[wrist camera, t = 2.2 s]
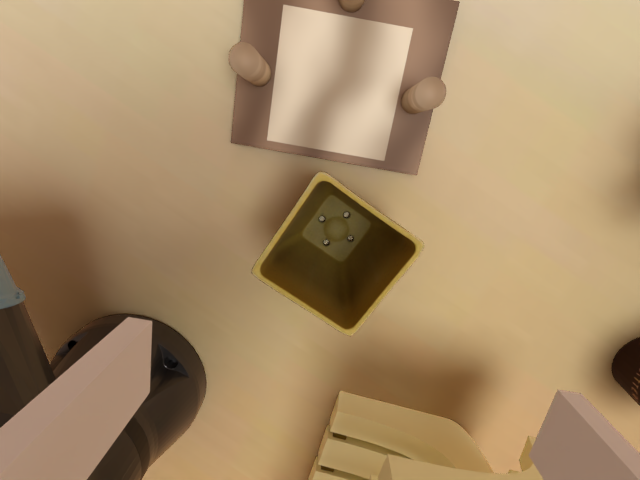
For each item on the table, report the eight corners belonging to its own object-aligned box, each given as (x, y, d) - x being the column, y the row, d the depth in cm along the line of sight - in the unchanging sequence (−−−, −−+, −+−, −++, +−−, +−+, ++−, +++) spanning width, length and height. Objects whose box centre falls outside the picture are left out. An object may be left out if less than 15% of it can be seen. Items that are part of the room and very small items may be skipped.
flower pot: (269, 238, 32) (247, 274, 24) (322, 160, 30) (319, 168, 22) (345, 288, 34) (350, 339, 25) (401, 216, 31) (428, 245, 23)
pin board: (234, 142, 30) (211, 143, 24) (250, -32, 26) (228, -80, 21) (414, 174, 30) (433, 182, 25) (455, 6, 27) (489, -30, 21)
